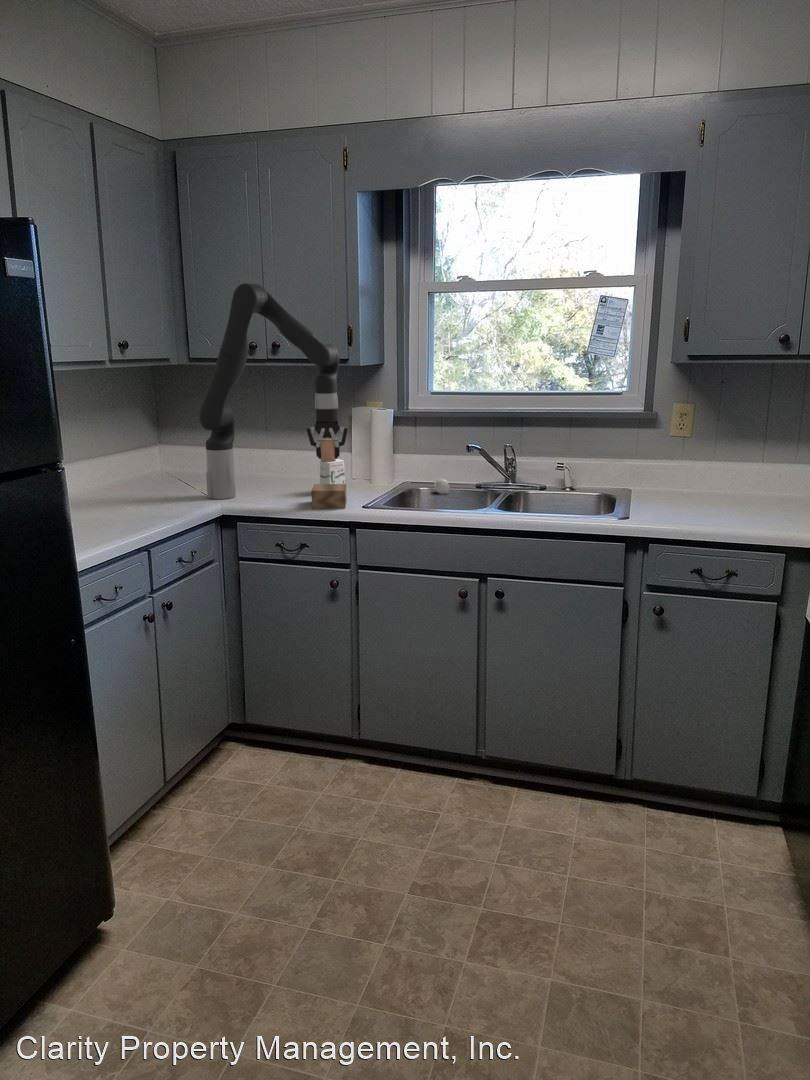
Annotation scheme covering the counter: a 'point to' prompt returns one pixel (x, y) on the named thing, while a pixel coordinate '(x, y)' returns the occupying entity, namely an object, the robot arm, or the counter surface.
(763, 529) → the counter surface
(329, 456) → the terracotta canister
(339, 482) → the ink box
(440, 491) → the off-white ball
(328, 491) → the walnut pedestal
